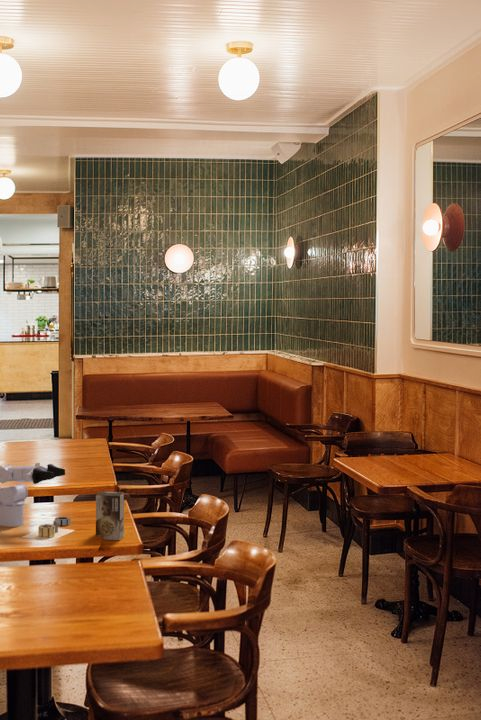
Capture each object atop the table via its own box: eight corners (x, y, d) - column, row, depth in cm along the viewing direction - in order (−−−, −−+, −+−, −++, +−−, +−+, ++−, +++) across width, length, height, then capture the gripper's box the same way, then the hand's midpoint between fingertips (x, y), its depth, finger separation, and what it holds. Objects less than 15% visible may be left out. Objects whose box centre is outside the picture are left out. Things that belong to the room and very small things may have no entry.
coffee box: (124, 536, 296) (125, 491, 295) (119, 540, 290) (120, 495, 289) (99, 534, 297) (100, 490, 296) (94, 539, 290) (95, 494, 290)
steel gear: (52, 528, 305) (52, 519, 305) (60, 524, 310) (60, 516, 310) (65, 529, 303) (65, 520, 303) (72, 526, 308) (72, 517, 308)
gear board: (21, 540, 287) (21, 525, 286) (46, 530, 302) (46, 516, 302) (51, 544, 283) (51, 529, 283) (75, 533, 298) (75, 519, 298)
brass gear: (37, 537, 286) (37, 528, 286) (40, 533, 292) (40, 524, 292) (53, 537, 286) (53, 528, 286) (56, 533, 292) (56, 524, 292)
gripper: (14, 466, 295) (47, 465, 290) (37, 460, 308) (68, 459, 304) (15, 485, 295) (48, 485, 290) (38, 478, 308) (70, 478, 304)
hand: (59, 473), depth 297 cm, fingers open, 7 cm apart
